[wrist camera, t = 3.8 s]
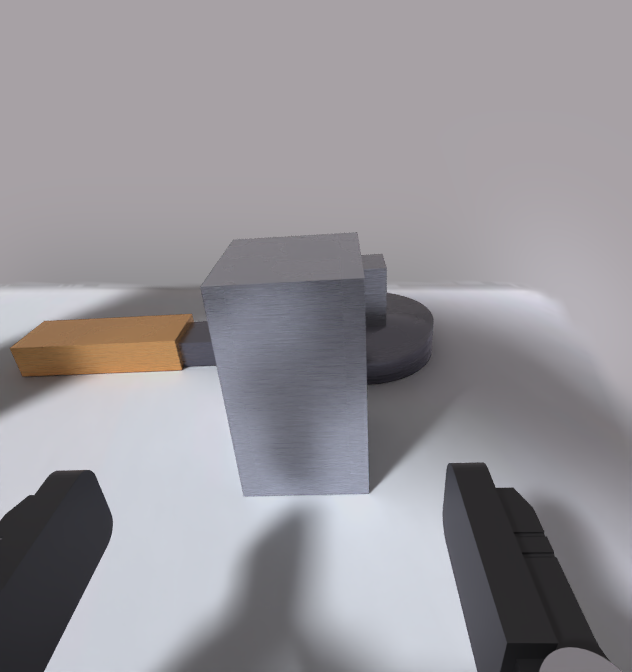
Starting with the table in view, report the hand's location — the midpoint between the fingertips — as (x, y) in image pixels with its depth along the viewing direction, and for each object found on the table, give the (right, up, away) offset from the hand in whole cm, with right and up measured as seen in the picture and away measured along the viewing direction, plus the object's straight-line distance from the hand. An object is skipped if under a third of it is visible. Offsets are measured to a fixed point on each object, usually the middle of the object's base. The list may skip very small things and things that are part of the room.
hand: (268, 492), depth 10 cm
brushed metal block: (+1, -2, +10) cm, 10 cm away
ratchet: (-4, +3, +18) cm, 19 cm away
